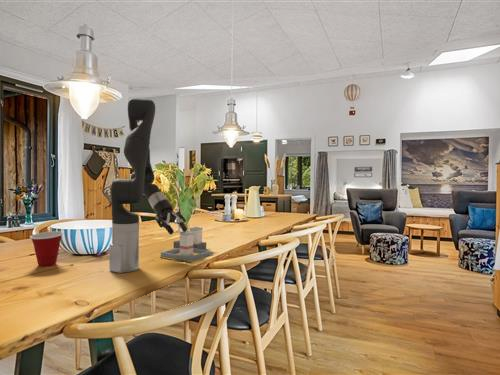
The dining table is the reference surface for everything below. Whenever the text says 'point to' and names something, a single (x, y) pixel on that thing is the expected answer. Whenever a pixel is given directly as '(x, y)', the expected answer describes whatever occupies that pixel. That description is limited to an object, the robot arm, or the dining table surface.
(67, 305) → the dining table surface
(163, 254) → the tray
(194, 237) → the block
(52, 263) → the plastic cup
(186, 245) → the block
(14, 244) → the dining table surface
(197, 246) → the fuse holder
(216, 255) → the dining table surface
